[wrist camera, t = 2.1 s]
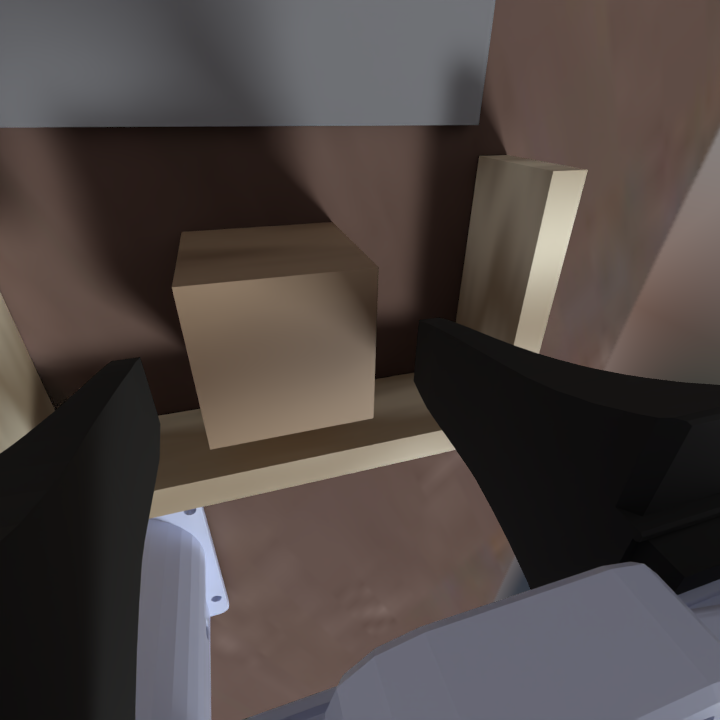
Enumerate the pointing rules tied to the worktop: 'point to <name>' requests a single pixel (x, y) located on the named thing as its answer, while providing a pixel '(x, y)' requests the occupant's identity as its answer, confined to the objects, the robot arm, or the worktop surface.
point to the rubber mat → (242, 62)
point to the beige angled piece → (391, 394)
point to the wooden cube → (277, 329)
